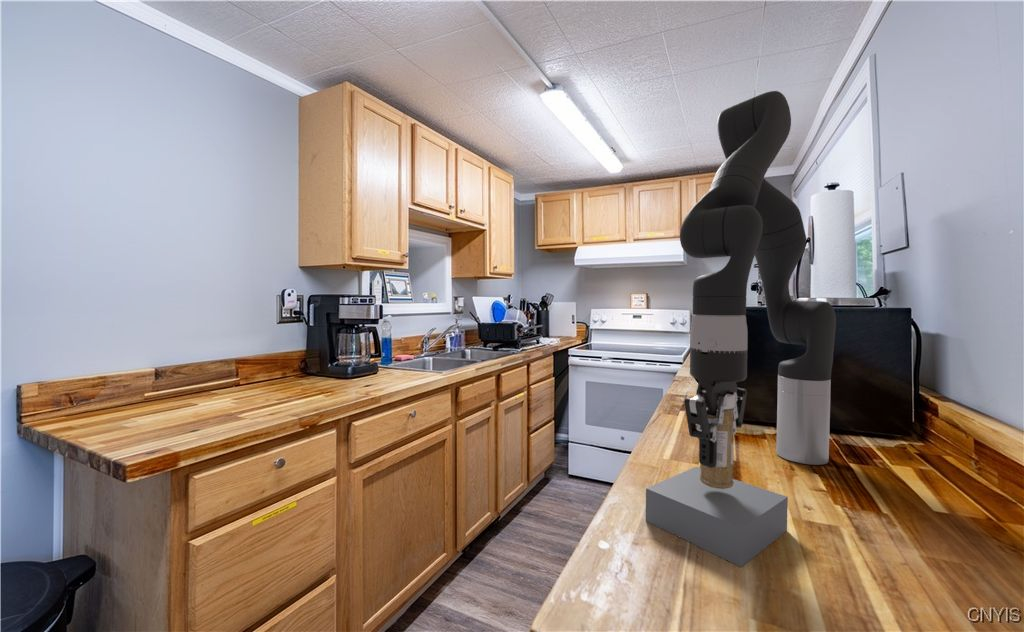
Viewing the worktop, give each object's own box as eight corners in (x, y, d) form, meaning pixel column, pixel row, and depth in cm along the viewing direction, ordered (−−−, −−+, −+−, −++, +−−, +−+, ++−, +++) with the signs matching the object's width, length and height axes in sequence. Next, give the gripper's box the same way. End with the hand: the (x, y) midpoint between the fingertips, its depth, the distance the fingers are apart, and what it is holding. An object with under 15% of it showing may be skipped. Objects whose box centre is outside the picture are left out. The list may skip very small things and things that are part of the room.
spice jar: (739, 485, 62) (741, 393, 62) (722, 492, 60) (723, 397, 59) (710, 474, 66) (711, 388, 65) (692, 481, 63) (693, 391, 63)
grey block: (695, 495, 73) (695, 466, 72) (786, 530, 61) (787, 496, 61) (645, 520, 64) (645, 488, 64) (741, 567, 53) (741, 527, 53)
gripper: (717, 341, 69) (715, 444, 70) (666, 347, 61) (665, 465, 61) (767, 345, 63) (764, 458, 64) (718, 352, 55) (716, 483, 55)
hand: (716, 461), depth 63 cm, fingers closed on spice jar, 4 cm apart
